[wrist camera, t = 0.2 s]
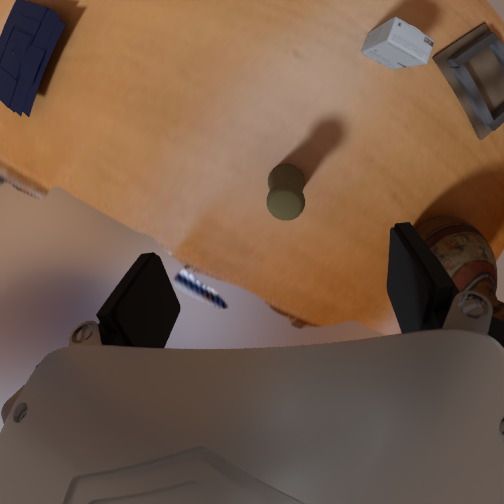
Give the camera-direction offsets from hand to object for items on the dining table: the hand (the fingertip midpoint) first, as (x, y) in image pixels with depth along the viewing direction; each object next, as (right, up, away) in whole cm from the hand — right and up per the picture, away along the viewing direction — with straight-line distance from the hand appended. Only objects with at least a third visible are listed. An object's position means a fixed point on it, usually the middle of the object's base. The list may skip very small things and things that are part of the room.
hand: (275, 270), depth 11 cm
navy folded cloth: (-52, +45, +23) cm, 72 cm away
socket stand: (+40, +31, +19) cm, 54 cm away
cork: (+5, +12, +35) cm, 38 cm away
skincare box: (+19, +32, +22) cm, 43 cm away
